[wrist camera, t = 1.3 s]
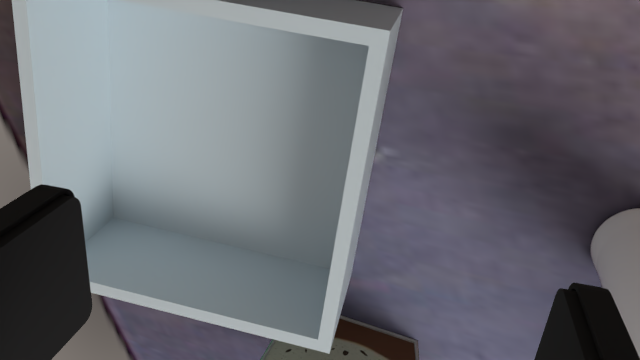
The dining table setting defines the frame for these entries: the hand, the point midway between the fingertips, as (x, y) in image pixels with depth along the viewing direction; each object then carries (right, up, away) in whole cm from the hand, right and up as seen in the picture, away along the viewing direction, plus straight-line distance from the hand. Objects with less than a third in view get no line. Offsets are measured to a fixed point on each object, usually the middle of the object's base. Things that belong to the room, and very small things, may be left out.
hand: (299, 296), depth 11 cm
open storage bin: (-5, +6, +26) cm, 27 cm away
